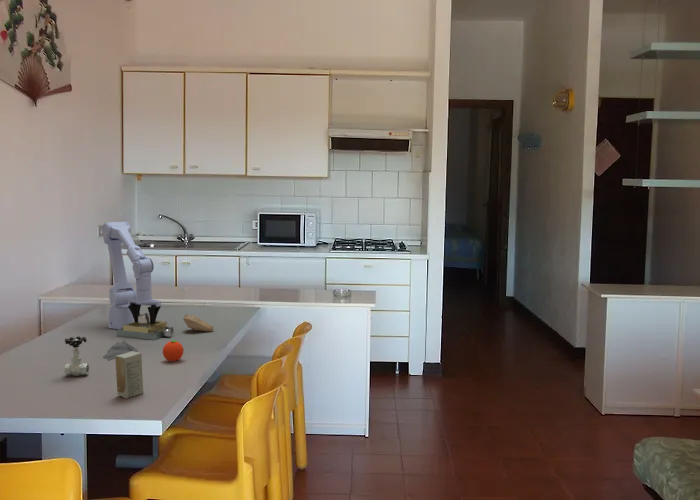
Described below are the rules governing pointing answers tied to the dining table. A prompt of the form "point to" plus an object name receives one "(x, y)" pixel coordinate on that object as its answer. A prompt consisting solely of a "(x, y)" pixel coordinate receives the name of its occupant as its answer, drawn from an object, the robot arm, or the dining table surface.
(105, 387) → the dining table surface
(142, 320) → the tin can
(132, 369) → the skincare box
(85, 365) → the valve
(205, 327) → the pottery oil lamp
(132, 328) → the metal tray
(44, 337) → the dining table surface
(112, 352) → the cloth
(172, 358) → the clementine
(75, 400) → the dining table surface
